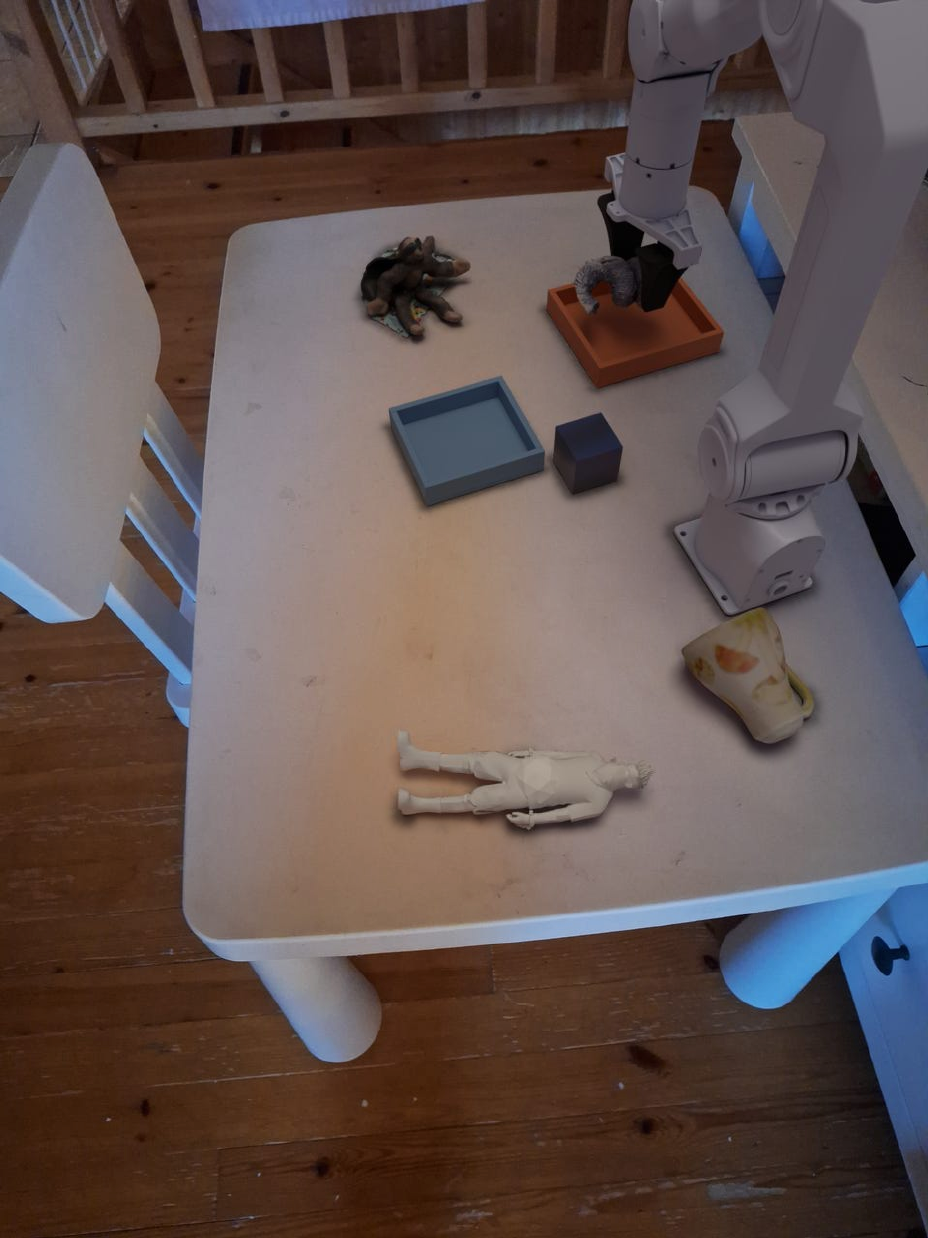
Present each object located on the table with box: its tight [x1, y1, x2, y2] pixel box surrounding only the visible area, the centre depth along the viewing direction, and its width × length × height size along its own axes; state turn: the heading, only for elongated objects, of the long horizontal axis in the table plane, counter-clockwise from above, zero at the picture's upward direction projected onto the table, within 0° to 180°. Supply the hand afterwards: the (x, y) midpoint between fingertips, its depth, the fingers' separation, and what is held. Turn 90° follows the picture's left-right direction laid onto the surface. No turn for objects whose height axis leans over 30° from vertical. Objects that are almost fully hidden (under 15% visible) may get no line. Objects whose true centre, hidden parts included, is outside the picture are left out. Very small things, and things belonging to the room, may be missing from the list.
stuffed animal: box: [360, 235, 471, 338], centre depth 94 cm, size 12×10×12 cm
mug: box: [680, 606, 815, 744], centre depth 67 cm, size 8×10×10 cm
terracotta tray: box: [546, 276, 725, 389], centre depth 90 cm, size 12×13×2 cm
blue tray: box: [388, 375, 546, 507], centre depth 82 cm, size 10×11×2 cm
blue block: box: [552, 411, 624, 495], centre depth 79 cm, size 4×4×4 cm
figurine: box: [396, 729, 656, 831], centre depth 64 cm, size 7×4×18 cm
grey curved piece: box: [573, 255, 677, 314], centre depth 86 cm, size 5×5×10 cm
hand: (637, 287), depth 86 cm, fingers closed on grey curved piece, 6 cm apart
